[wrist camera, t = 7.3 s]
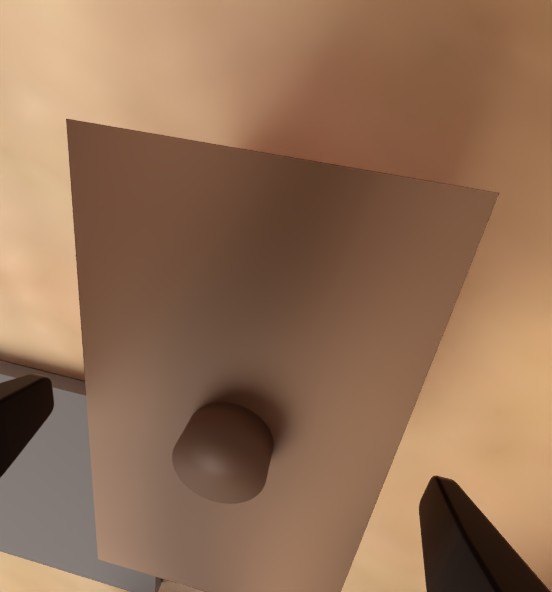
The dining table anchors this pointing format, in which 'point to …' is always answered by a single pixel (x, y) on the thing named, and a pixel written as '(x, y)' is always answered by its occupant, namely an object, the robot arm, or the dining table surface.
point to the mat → (58, 493)
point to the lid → (252, 349)
